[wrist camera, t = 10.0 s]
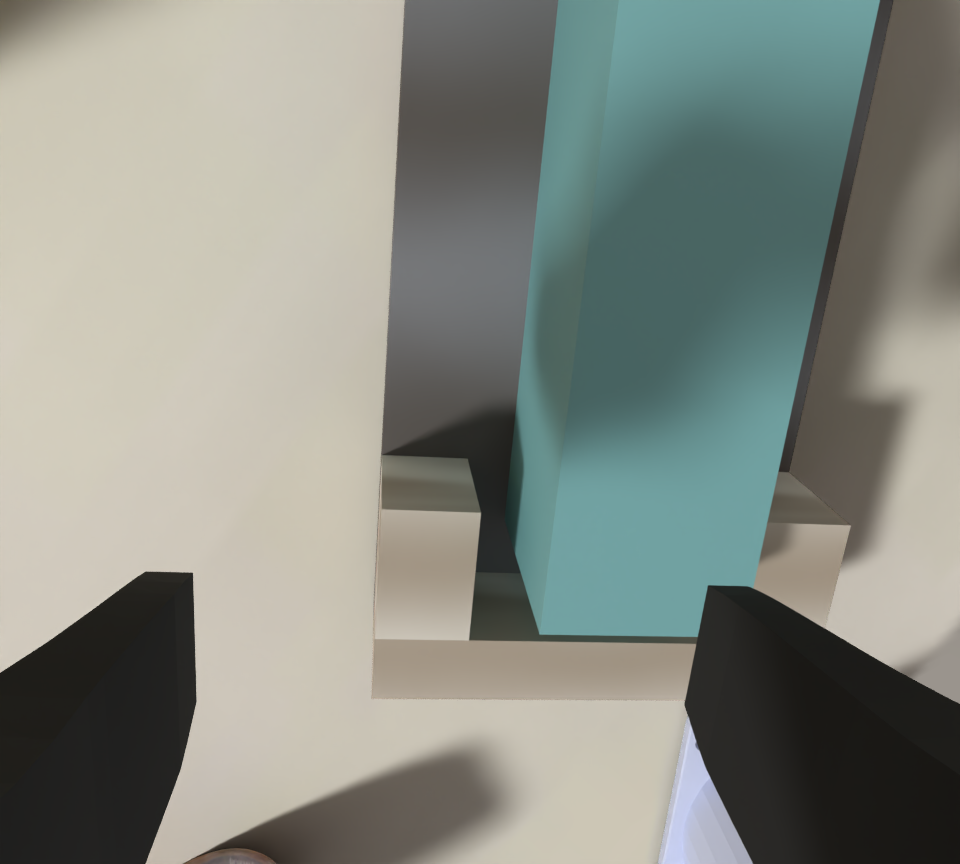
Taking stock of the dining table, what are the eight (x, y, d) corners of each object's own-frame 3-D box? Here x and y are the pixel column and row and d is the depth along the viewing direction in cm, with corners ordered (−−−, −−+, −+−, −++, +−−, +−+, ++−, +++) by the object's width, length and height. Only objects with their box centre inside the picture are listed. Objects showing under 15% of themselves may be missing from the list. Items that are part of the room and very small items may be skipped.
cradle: (739, 609, 23) (806, 701, 20) (373, 602, 22) (371, 698, 18) (953, -397, 16) (1124, -554, 12) (429, -494, 15) (445, -701, 11)
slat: (663, 524, 21) (742, 637, 16) (504, 519, 21) (539, 634, 16) (796, -251, 16) (968, -408, 11) (587, -284, 15) (676, -461, 11)
